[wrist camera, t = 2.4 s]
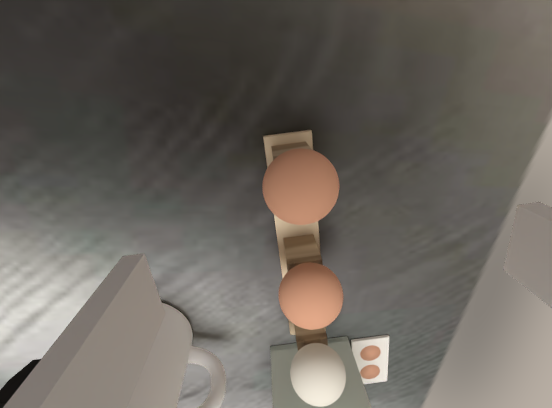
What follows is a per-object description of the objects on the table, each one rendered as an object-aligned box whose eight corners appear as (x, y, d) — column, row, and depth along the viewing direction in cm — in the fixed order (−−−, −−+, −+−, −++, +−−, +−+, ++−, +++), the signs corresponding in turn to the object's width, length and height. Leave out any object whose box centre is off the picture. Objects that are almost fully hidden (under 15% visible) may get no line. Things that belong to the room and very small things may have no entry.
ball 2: (273, 254, 21) (277, 296, 17) (333, 246, 21) (350, 286, 17) (280, 301, 23) (284, 349, 19) (335, 294, 23) (351, 340, 19)
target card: (350, 339, 31) (351, 342, 31) (388, 334, 31) (389, 337, 31) (351, 383, 34) (352, 386, 34) (386, 378, 34) (387, 381, 34)
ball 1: (257, 146, 18) (257, 166, 14) (327, 136, 18) (347, 154, 14) (266, 210, 20) (269, 244, 16) (331, 201, 20) (349, 233, 16)
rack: (263, 135, 22) (264, 148, 18) (310, 129, 22) (321, 141, 18) (289, 330, 30) (294, 369, 26) (324, 325, 30) (334, 364, 26)
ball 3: (285, 334, 24) (290, 385, 20) (337, 327, 24) (352, 377, 20) (290, 370, 26) (296, 423, 22) (338, 363, 26) (353, 415, 22)
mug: (238, 308, 29) (228, 422, 19) (224, 367, 32) (210, 489, 22) (109, 291, 27) (28, 406, 18) (108, 354, 30) (39, 481, 21)
